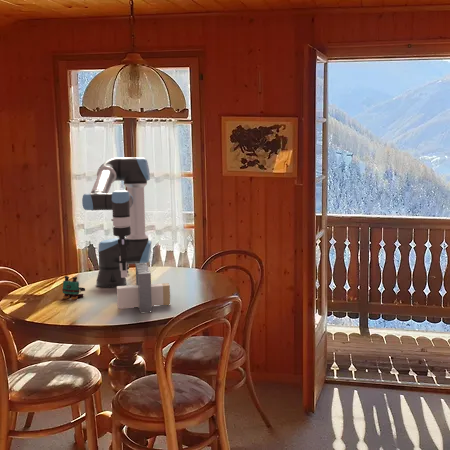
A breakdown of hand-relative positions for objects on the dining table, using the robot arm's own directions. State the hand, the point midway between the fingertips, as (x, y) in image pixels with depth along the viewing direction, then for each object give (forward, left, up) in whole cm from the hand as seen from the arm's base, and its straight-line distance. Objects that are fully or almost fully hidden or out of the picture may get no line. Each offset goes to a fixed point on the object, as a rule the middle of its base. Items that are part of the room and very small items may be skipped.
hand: (123, 273), depth 275 cm
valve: (-55, -47, -15) cm, 74 cm away
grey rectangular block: (-5, +7, -15) cm, 17 cm away
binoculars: (-3, -32, -15) cm, 36 cm away
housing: (-5, +7, -15) cm, 17 cm away
